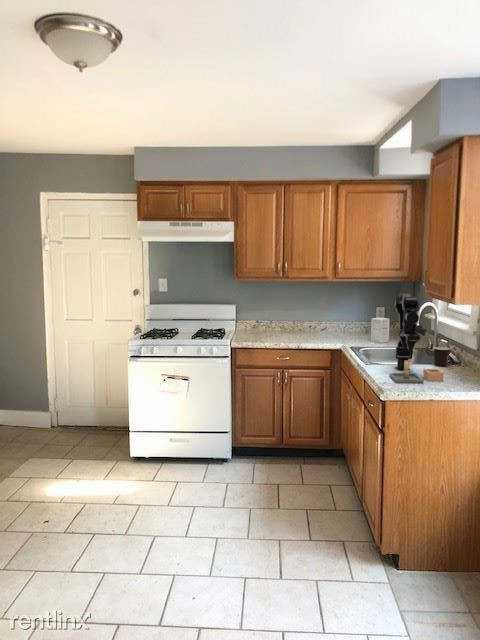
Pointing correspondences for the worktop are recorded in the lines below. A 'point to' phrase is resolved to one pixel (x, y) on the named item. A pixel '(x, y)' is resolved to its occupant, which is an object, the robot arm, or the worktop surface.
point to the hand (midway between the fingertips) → (407, 351)
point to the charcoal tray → (400, 379)
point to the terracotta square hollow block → (433, 374)
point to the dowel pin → (406, 369)
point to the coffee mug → (441, 356)
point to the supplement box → (380, 330)
